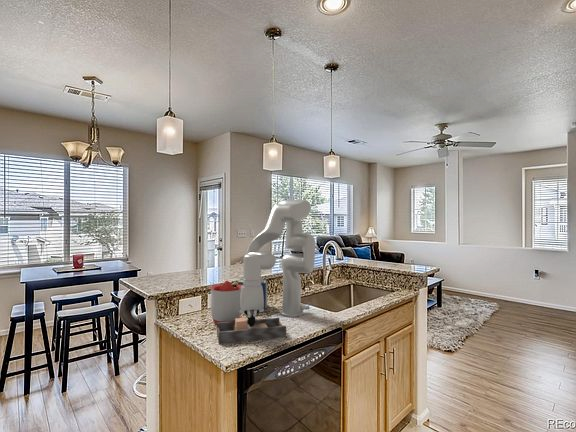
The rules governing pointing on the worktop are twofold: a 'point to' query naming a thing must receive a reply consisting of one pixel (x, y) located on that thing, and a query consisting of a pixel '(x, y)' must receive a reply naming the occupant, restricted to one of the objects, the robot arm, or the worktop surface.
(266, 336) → the box
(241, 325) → the terracotta block
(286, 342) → the worktop surface
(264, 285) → the protein box
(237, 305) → the citrus juicer
